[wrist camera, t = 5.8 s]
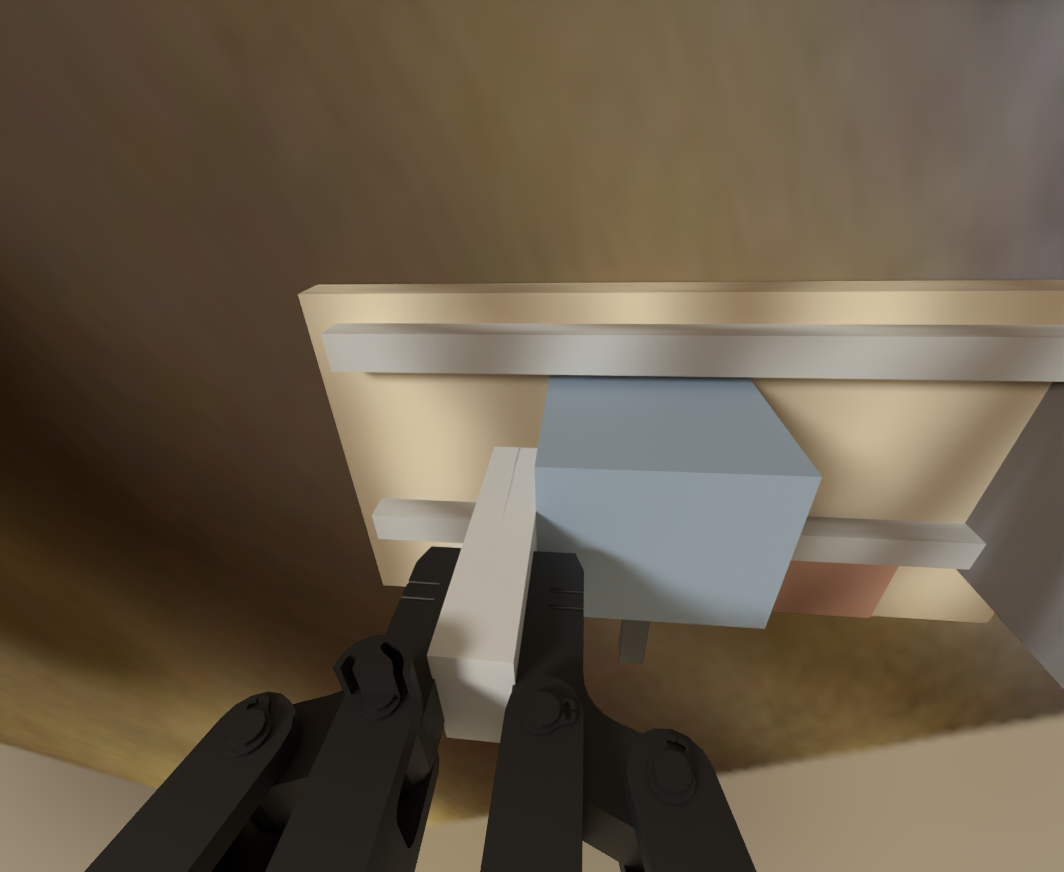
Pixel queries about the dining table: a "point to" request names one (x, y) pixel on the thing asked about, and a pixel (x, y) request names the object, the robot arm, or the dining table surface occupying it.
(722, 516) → the carriage
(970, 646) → the dining table surface
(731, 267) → the dining table surface
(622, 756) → the robot arm
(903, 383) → the gauge base
